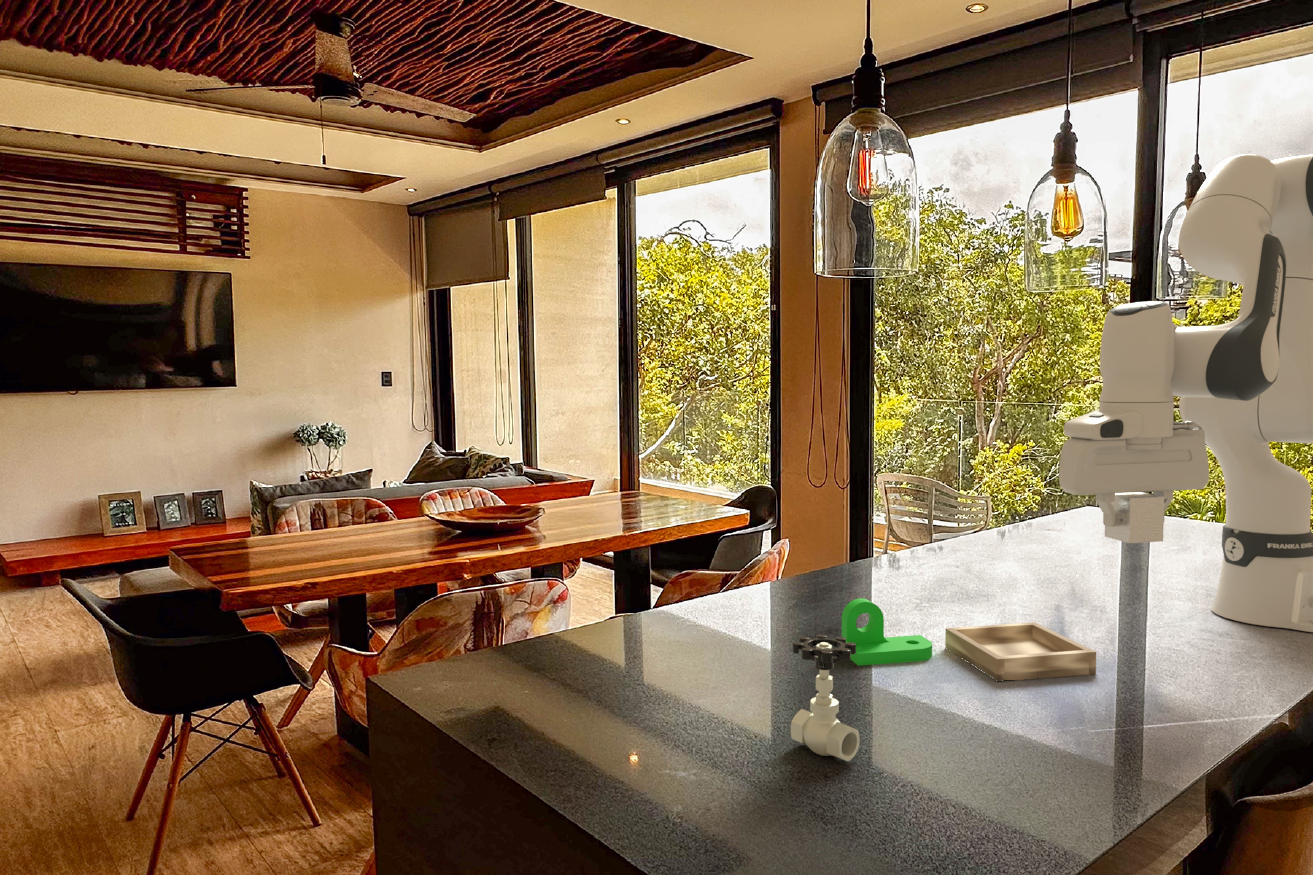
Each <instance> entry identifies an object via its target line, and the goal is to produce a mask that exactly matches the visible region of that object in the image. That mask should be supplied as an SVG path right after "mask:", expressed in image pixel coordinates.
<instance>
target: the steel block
mask: <svg viewBox="0 0 1313 875" xmlns="http://www.w3.org/2000/svg"><path fill="white" fill-rule="evenodd" d="M1111 504H1112V506H1113V508H1114V510H1115V512H1116V513H1121V514H1122V515H1121V526H1114V527H1109V526H1105V525H1104V537H1105V538H1108V539H1109V538H1110V539H1112V540H1116V541H1119V542H1123V543H1128V544H1138V543H1139V544H1141V543H1153V542H1154V543H1155V542H1156V543H1158V542H1164V525H1165V524H1164V523H1165V514H1164V497H1163V496H1157V495H1153V493H1147V492H1133V493H1115V501H1113V502H1111Z"/></svg>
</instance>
